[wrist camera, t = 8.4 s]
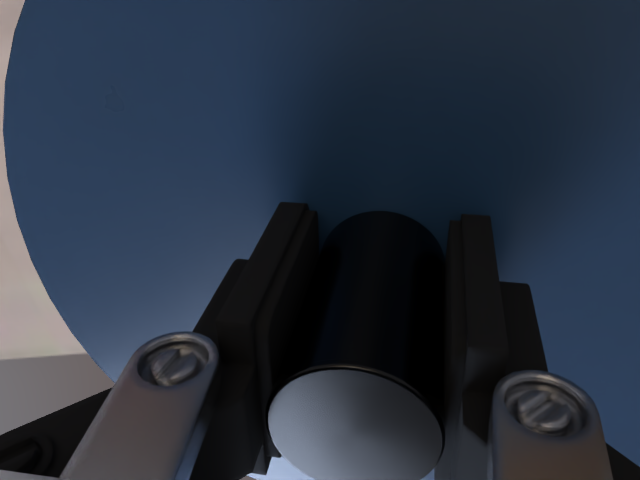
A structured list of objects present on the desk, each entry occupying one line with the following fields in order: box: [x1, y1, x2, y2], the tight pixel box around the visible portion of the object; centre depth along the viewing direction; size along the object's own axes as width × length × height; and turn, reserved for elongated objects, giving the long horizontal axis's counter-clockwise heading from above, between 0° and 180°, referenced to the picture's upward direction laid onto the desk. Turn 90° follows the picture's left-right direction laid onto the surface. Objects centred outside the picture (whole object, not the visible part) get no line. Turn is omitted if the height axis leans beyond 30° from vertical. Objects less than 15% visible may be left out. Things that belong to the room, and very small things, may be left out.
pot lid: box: [3, 0, 640, 480], centre depth 10 cm, size 17×17×6 cm
